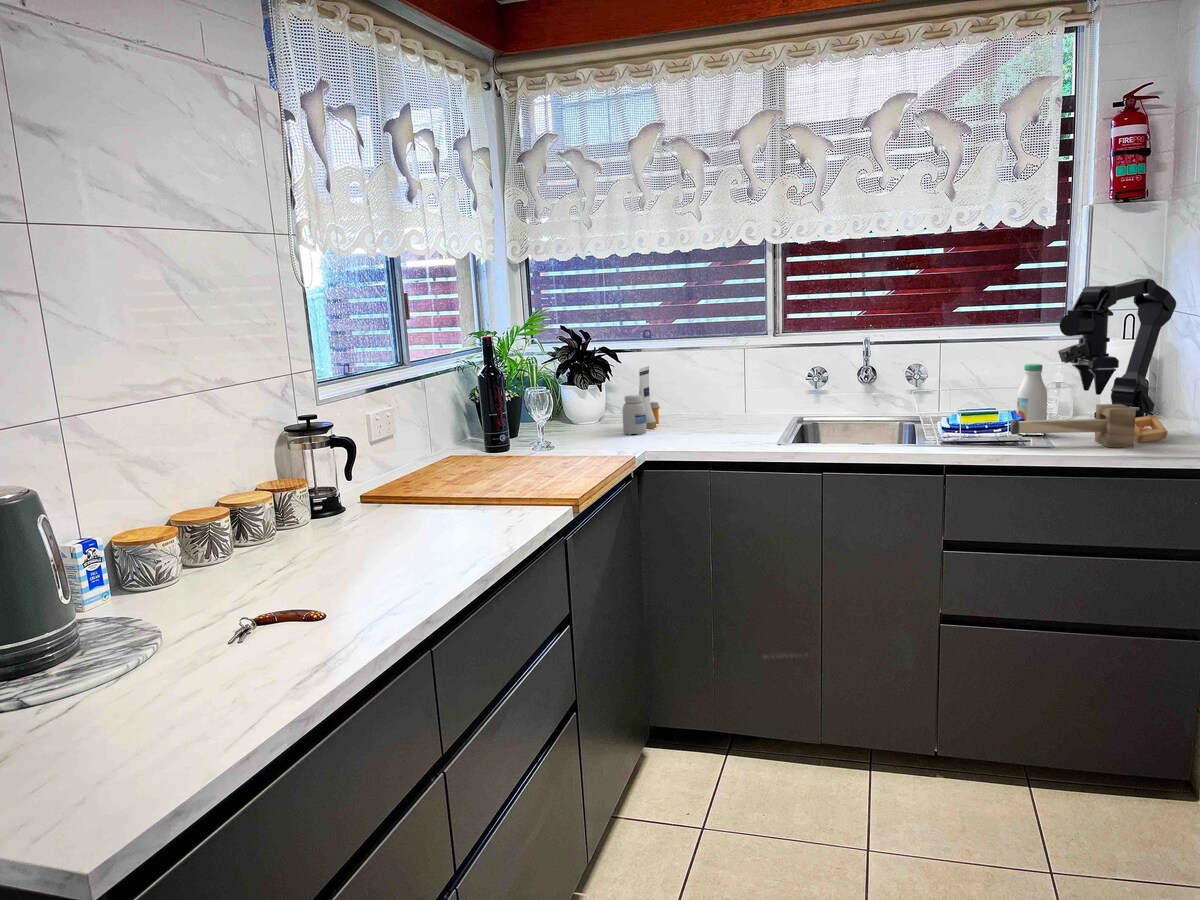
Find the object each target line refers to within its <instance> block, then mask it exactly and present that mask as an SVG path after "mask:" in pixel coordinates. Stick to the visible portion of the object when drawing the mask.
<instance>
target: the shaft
mask: <svg viewBox="0 0 1200 900" xmlns="http://www.w3.org/2000/svg"><path fill="white" fill-rule="evenodd" d="M1105 424H1106V419H1096V418H1089V419H1087V418H1085V419H1081V418H1080V419H1079V418H1078V419H1047V420H1025V421H1018V420H1017V419H1011V420H1010V424H1009V425H1010V427H1009V428H1010V429H1009V430H1010V434H1011V435H1013V436H1014V435H1018V434H1020V433H1046V434H1061V433H1063V434H1067V433H1070V434H1071V433H1074V434H1075V433H1079V434H1080V433H1095V432H1105Z"/></svg>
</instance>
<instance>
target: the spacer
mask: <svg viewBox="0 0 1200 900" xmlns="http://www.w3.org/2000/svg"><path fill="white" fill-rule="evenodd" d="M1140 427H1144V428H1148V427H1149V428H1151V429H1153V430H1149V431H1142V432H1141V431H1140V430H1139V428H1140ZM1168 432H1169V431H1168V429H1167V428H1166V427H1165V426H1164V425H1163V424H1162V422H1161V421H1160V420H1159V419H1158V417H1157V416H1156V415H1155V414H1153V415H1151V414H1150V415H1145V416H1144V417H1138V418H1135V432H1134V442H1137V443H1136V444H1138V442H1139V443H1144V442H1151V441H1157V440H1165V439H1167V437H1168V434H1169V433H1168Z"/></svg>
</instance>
